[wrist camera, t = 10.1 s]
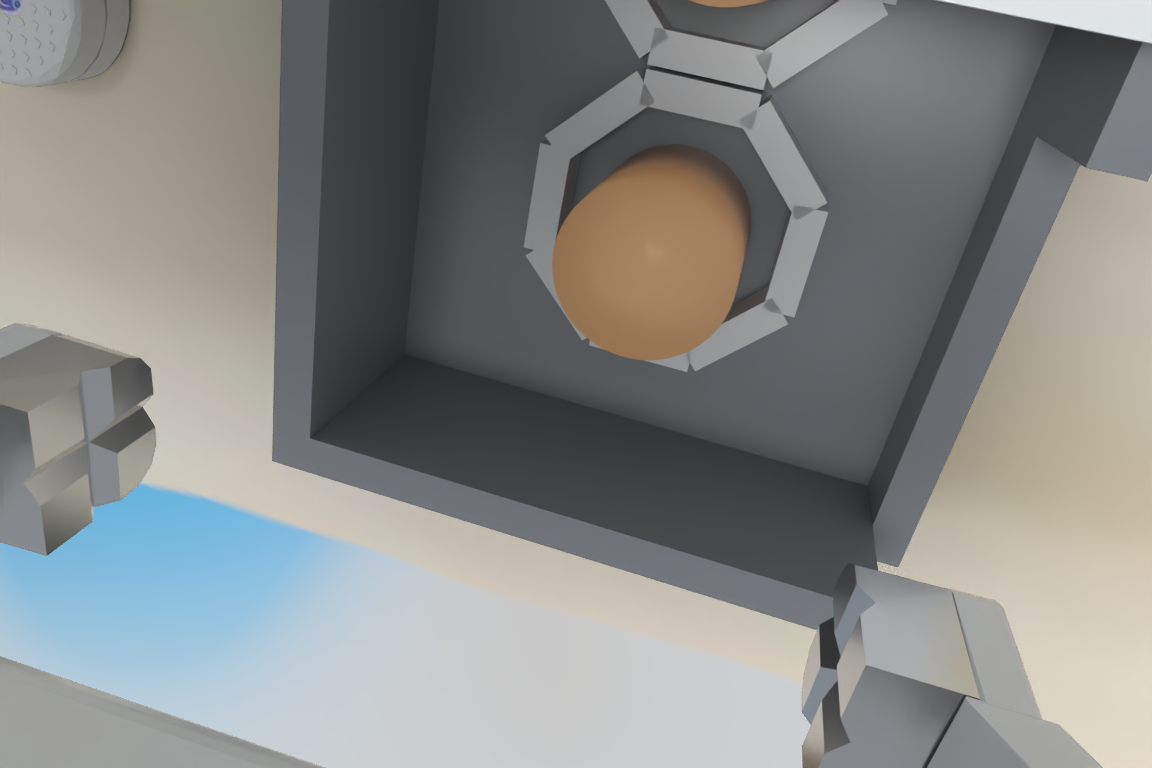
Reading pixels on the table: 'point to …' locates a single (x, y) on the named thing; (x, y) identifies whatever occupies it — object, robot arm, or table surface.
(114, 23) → the electronic device
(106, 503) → the robot arm
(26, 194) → the table surface
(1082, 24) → the lid
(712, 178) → the brown egg
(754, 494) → the housing
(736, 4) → the egg seated
